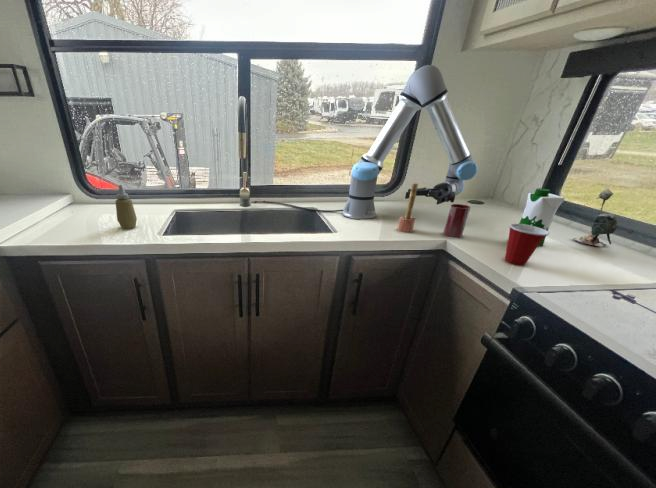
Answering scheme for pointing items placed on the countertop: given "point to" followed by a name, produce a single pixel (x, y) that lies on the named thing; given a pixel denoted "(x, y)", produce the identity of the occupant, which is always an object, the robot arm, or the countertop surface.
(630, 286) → the countertop surface
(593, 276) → the countertop surface
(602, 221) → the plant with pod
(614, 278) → the countertop surface
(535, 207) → the milk carton
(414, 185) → the straw
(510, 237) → the plastic cup
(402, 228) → the straw caddy
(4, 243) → the countertop surface
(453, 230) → the can
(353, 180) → the robot arm
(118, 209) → the squeeze bottle
